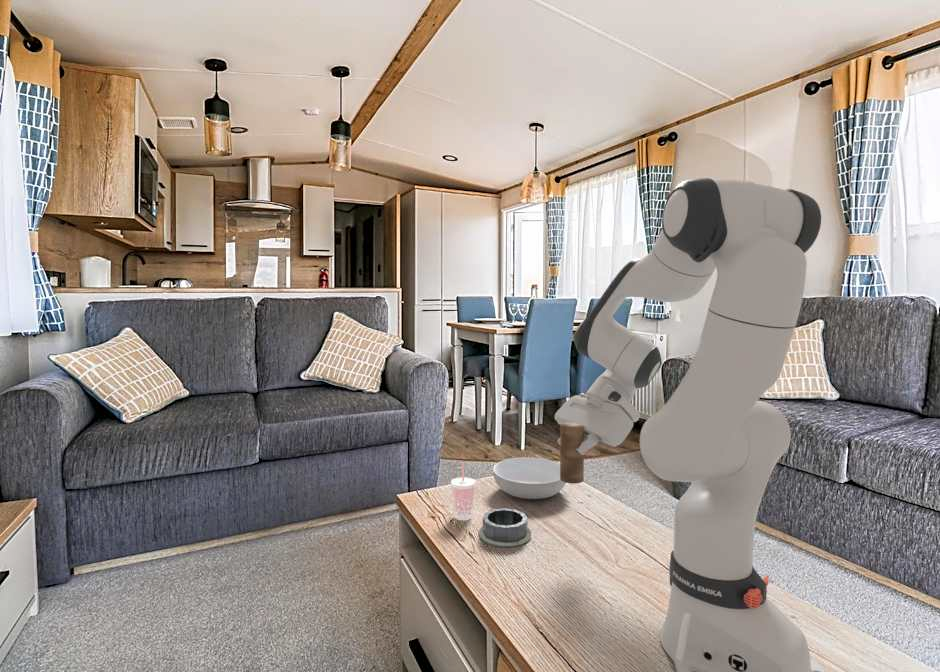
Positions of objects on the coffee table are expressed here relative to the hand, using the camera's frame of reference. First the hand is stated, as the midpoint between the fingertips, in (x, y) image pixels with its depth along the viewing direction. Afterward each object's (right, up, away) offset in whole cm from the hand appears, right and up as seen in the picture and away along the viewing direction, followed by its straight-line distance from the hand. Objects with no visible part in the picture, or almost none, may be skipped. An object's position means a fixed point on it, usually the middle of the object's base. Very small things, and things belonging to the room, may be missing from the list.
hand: (569, 448), depth 111 cm
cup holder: (-13, -22, +8) cm, 27 cm away
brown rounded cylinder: (+1, -7, +1) cm, 7 cm away
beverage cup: (-23, -21, +18) cm, 36 cm away
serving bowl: (-5, -20, +33) cm, 39 cm away
